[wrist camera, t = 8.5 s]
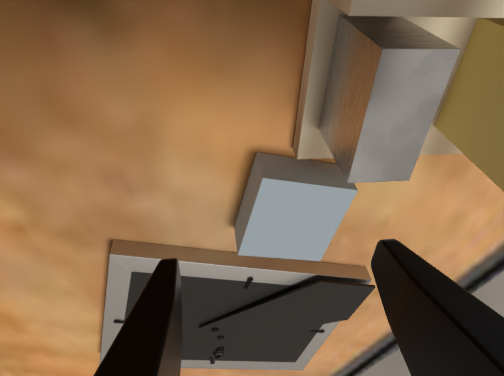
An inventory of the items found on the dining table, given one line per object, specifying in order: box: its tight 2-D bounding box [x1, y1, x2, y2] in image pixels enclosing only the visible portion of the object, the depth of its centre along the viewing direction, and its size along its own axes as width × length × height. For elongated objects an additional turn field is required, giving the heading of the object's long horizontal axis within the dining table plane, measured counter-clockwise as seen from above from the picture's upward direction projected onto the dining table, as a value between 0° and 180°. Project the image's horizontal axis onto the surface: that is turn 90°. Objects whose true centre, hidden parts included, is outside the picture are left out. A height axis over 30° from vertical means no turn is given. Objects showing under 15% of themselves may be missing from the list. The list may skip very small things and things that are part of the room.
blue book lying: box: [234, 152, 358, 261], centre depth 24 cm, size 6×6×3 cm
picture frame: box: [100, 240, 375, 370], centre depth 32 cm, size 16×3×21 cm
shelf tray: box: [293, 0, 504, 159], centre depth 18 cm, size 20×10×5 cm, turn 88°
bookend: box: [319, 15, 460, 183], centre depth 17 cm, size 3×6×5 cm, turn 177°
